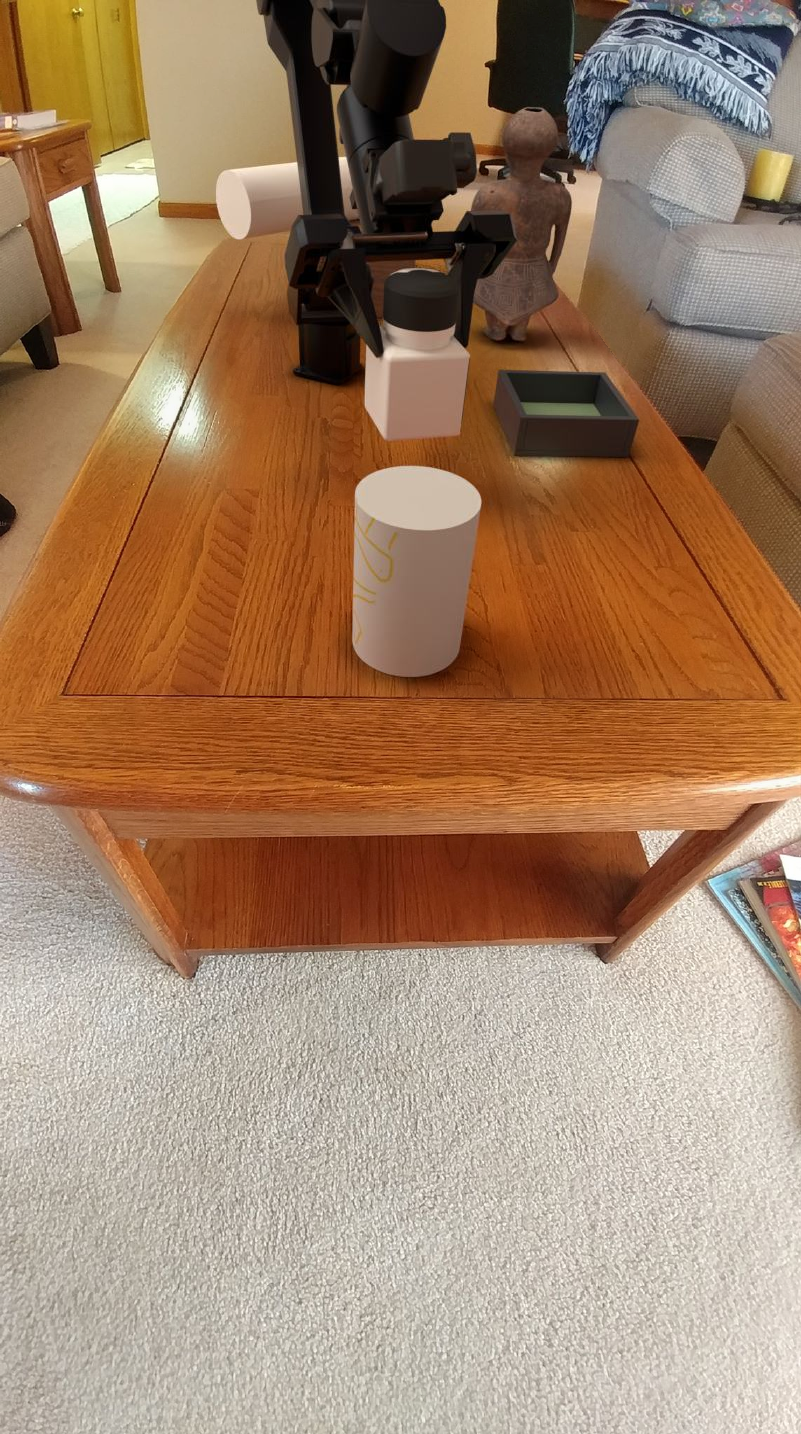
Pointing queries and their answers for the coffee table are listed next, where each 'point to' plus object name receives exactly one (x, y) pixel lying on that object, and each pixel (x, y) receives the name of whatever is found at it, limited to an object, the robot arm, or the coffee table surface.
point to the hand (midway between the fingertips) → (422, 351)
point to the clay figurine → (524, 227)
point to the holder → (564, 414)
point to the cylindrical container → (267, 198)
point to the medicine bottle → (418, 359)
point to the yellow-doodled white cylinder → (412, 567)
